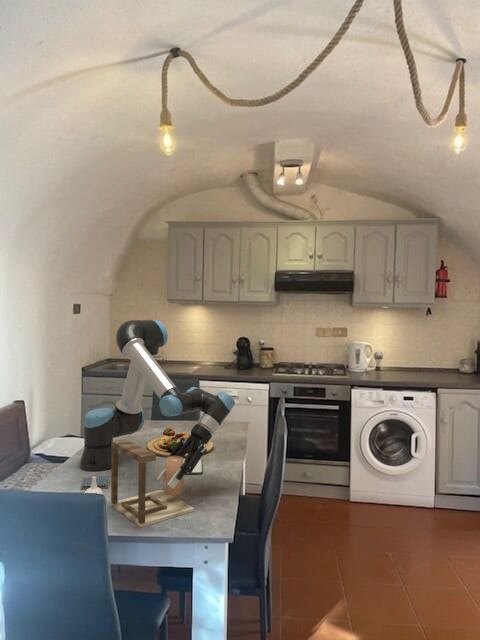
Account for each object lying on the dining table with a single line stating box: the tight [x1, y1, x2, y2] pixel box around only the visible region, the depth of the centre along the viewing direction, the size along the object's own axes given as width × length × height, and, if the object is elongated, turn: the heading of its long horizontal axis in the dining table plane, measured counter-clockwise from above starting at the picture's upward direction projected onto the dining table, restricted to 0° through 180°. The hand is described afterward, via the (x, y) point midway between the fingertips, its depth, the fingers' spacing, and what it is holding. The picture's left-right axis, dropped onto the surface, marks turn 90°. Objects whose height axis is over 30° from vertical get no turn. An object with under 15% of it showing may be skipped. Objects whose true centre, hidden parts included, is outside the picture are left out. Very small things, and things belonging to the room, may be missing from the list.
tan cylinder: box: [164, 456, 184, 497], centre depth 172 cm, size 6×6×12 cm
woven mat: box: [79, 475, 111, 491], centre depth 188 cm, size 10×11×2 cm
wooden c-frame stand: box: [110, 438, 195, 528], centre depth 167 cm, size 21×20×22 cm
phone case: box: [183, 459, 204, 476], centre depth 208 cm, size 9×2×16 cm
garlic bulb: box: [84, 475, 104, 495], centre depth 174 cm, size 6×6×8 cm
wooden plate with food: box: [146, 426, 214, 459], centre depth 238 cm, size 32×32×8 cm
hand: (165, 483), depth 170 cm, fingers closed on tan cylinder, 6 cm apart
